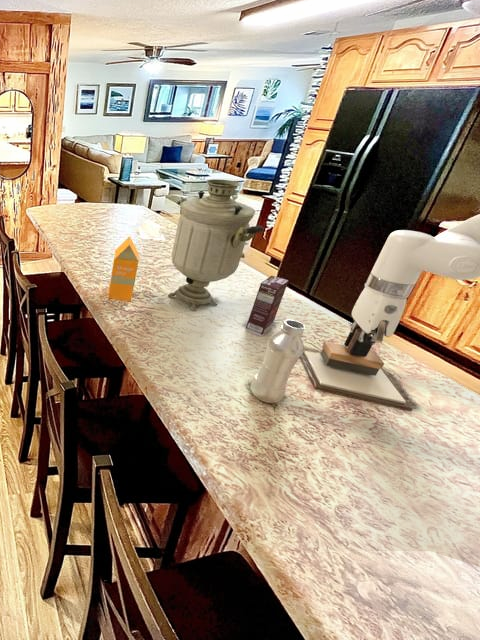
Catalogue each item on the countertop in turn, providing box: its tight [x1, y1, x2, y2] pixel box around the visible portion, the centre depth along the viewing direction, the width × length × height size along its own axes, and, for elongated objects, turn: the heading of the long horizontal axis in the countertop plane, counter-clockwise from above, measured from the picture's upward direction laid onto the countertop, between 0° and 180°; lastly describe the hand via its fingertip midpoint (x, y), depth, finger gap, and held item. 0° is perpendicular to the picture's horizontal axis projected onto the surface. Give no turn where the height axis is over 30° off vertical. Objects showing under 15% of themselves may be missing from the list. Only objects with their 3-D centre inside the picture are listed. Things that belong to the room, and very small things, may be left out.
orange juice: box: [107, 235, 140, 302], centre depth 130 cm, size 8×9×20 cm
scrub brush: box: [319, 329, 385, 376], centre depth 95 cm, size 10×5×10 cm, turn 68°
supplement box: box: [244, 275, 289, 337], centre depth 112 cm, size 9×5×16 cm, turn 130°
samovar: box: [167, 178, 265, 312], centre depth 122 cm, size 30×26×40 cm
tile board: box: [299, 350, 414, 412], centre depth 96 cm, size 18×16×1 cm
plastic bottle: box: [250, 319, 306, 404], centre depth 85 cm, size 6×7×20 cm
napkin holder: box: [138, 220, 166, 241], centre depth 191 cm, size 15×11×6 cm
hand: (354, 350), depth 96 cm, fingers closed on scrub brush, 2 cm apart
